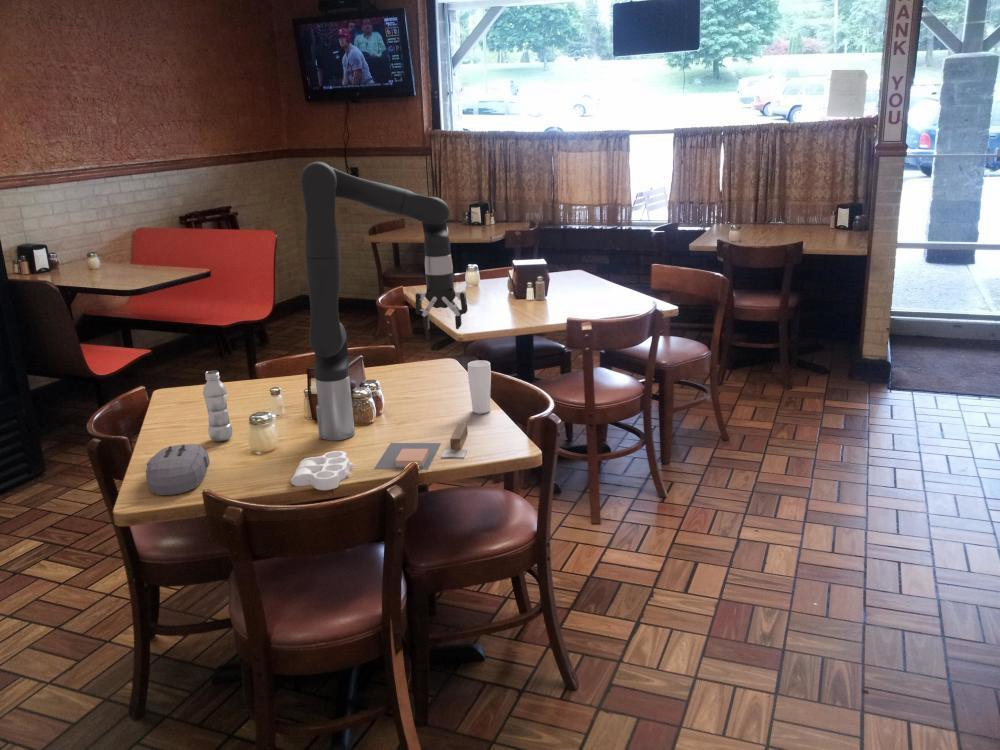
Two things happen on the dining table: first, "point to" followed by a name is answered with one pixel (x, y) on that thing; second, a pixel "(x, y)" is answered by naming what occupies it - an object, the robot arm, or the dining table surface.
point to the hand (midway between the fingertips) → (442, 328)
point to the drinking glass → (480, 385)
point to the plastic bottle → (217, 407)
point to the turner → (457, 442)
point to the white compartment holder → (323, 471)
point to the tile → (412, 457)
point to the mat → (395, 448)
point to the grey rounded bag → (177, 469)
